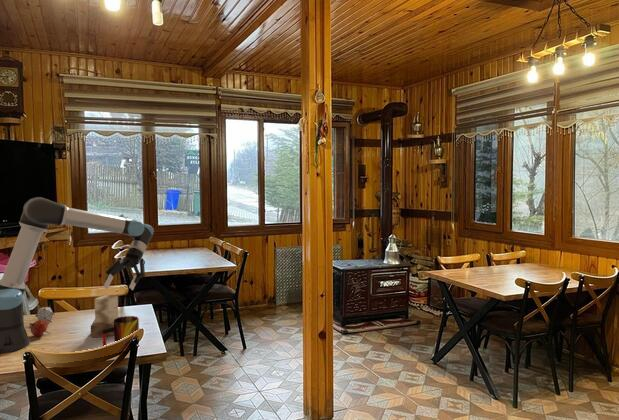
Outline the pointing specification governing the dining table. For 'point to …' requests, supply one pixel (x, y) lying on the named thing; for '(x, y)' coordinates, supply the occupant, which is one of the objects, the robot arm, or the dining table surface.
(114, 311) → the maple block
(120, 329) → the mug
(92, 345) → the dining table surface
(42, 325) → the pomegranate
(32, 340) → the dining table surface
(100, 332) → the walnut block
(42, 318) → the game die
